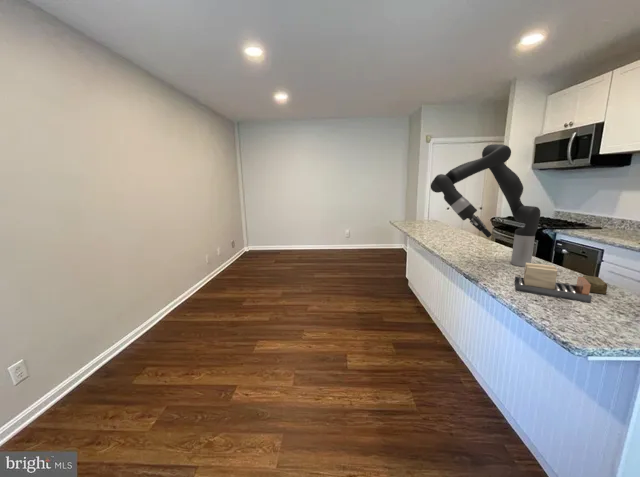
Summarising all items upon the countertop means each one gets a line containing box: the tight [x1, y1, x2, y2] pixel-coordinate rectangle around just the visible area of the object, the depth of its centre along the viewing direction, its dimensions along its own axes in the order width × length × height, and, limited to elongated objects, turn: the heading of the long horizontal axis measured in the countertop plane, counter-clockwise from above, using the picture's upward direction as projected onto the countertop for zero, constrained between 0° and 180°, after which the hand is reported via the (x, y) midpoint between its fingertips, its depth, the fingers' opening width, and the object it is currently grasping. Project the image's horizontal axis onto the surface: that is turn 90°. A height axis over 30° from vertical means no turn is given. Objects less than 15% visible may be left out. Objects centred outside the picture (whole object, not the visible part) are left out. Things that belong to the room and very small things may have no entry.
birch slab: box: [523, 262, 558, 289], centre depth 119 cm, size 8×10×8 cm
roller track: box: [514, 276, 593, 304], centre depth 118 cm, size 12×24×7 cm, turn 57°
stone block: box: [582, 275, 608, 295], centre depth 120 cm, size 6×12×5 cm, turn 150°
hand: (490, 236), depth 128 cm, fingers closed
